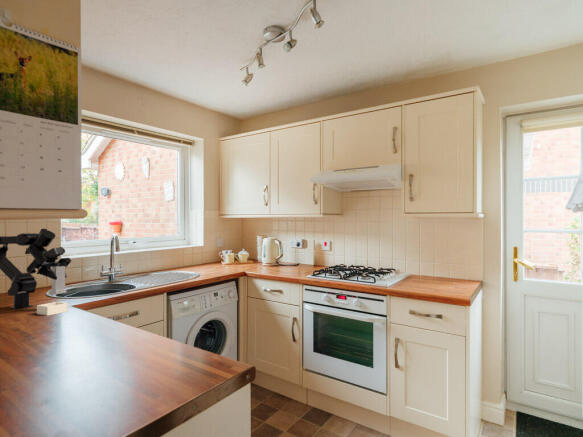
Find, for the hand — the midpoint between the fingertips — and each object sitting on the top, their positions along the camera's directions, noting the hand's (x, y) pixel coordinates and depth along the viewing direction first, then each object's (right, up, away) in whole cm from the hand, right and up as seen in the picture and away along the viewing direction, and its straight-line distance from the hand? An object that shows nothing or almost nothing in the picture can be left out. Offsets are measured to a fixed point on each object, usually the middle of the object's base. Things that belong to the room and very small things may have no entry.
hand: (61, 278), depth 151 cm
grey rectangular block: (-1, -7, 0) cm, 7 cm away
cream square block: (+2, -13, -8) cm, 16 cm away
